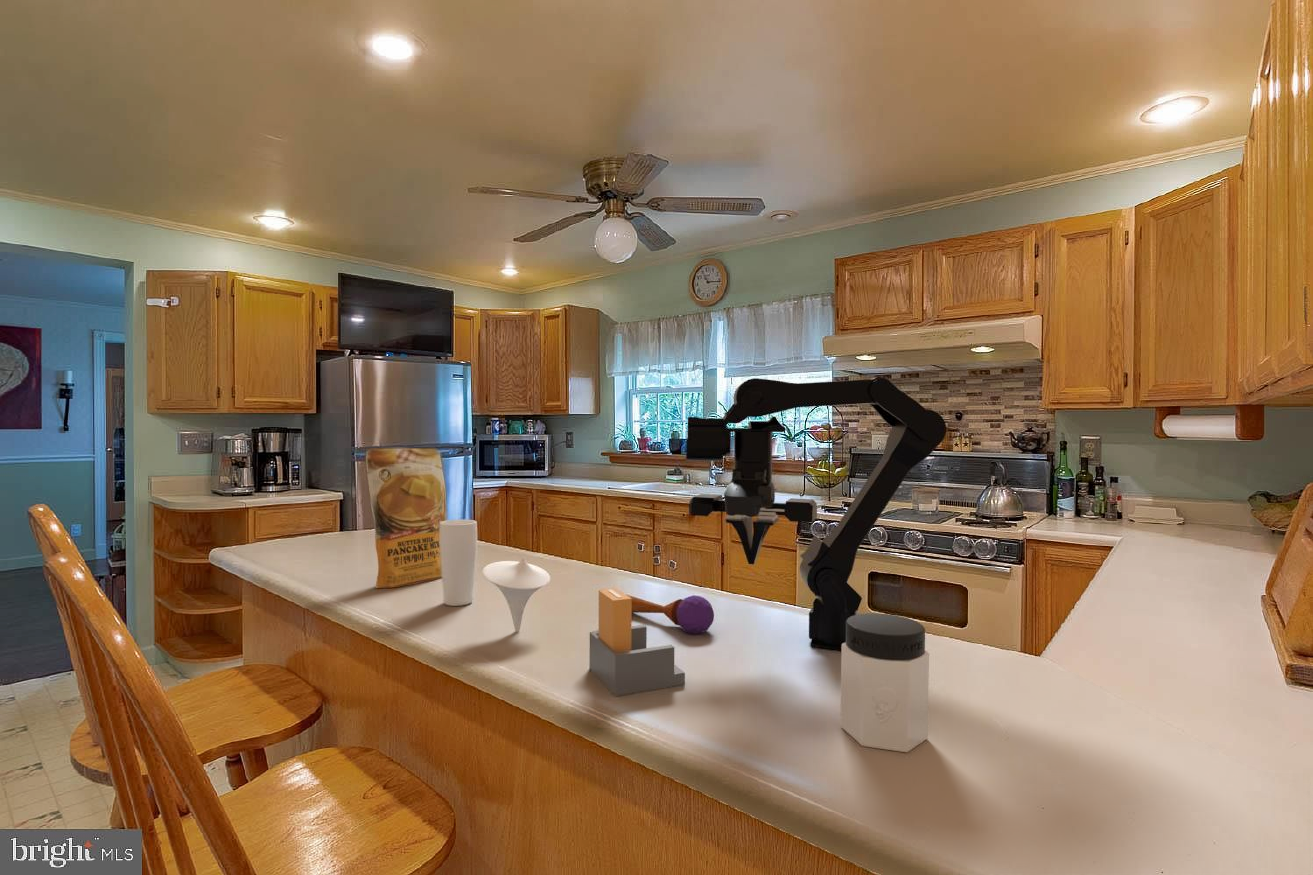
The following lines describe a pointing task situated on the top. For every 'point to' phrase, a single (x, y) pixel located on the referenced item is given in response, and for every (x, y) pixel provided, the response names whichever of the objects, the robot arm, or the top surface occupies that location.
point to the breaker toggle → (615, 619)
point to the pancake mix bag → (406, 513)
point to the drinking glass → (458, 560)
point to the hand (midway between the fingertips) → (751, 563)
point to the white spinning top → (516, 583)
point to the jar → (885, 682)
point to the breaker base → (634, 665)
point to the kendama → (681, 612)
